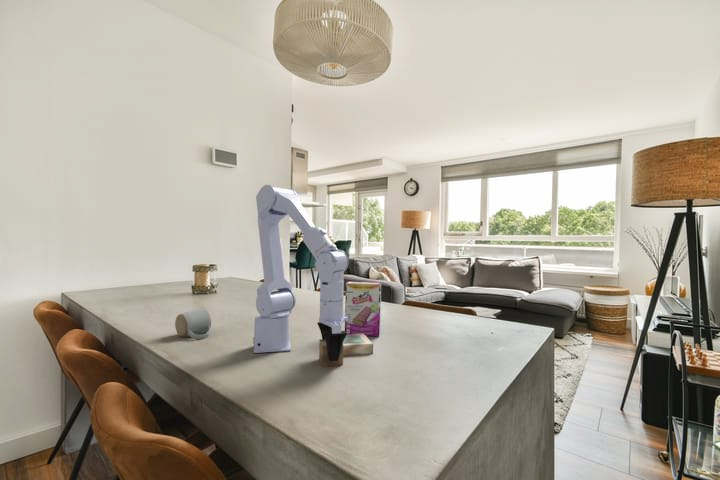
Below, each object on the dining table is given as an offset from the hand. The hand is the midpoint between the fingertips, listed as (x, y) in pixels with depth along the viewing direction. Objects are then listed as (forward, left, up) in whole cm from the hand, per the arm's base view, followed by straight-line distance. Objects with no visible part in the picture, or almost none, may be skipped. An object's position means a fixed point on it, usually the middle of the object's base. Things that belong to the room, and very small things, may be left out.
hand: (330, 355), depth 83 cm
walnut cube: (0, 0, -2) cm, 2 cm away
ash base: (+7, +9, -2) cm, 12 cm away
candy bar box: (+14, +22, -2) cm, 26 cm away
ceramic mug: (-36, +31, -2) cm, 48 cm away
